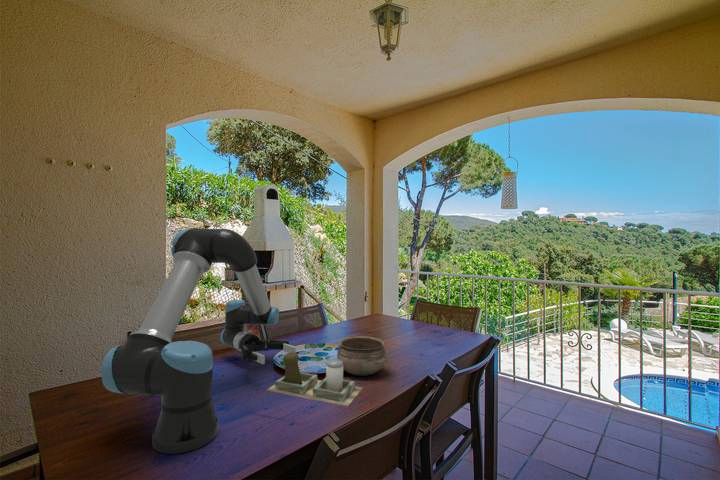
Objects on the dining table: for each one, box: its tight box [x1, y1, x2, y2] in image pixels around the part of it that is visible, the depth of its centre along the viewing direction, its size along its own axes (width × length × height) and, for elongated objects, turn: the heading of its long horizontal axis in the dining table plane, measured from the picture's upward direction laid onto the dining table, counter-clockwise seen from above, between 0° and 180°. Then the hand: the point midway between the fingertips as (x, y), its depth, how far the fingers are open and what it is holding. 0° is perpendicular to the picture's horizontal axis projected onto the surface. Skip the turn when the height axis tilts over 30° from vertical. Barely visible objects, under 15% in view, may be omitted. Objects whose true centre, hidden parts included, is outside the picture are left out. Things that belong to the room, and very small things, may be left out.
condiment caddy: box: [265, 371, 363, 408], centre depth 114 cm, size 14×29×4 cm, turn 70°
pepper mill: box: [283, 352, 302, 385], centre depth 116 cm, size 6×6×11 cm
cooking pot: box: [336, 335, 388, 377], centre depth 131 cm, size 25×19×12 cm
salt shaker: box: [325, 358, 344, 392], centre depth 112 cm, size 6×6×10 cm
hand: (280, 355), depth 123 cm, fingers open, 13 cm apart
